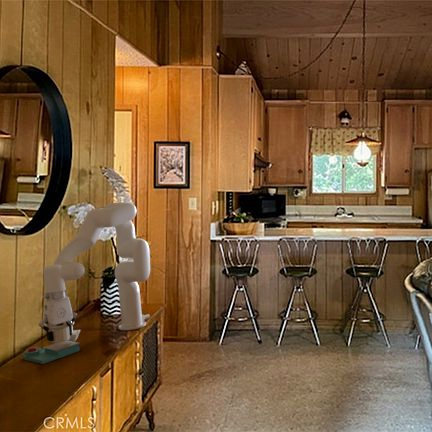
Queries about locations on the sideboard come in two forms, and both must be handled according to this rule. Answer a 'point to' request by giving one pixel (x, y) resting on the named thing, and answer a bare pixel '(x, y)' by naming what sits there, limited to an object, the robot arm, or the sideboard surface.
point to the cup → (61, 333)
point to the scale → (39, 356)
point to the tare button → (32, 349)
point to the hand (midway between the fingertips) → (60, 337)
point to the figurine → (73, 334)
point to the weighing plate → (62, 348)
